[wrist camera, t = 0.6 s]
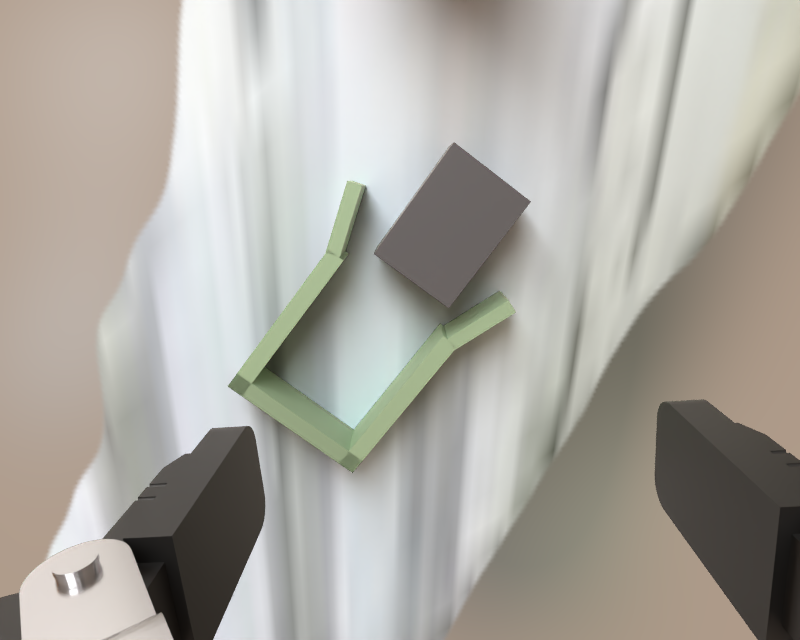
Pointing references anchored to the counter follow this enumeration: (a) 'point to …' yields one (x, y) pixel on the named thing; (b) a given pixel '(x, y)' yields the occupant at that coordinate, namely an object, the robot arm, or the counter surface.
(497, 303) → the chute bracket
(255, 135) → the counter surface
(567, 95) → the counter surface
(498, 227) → the chute block
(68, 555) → the robot arm
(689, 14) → the counter surface
